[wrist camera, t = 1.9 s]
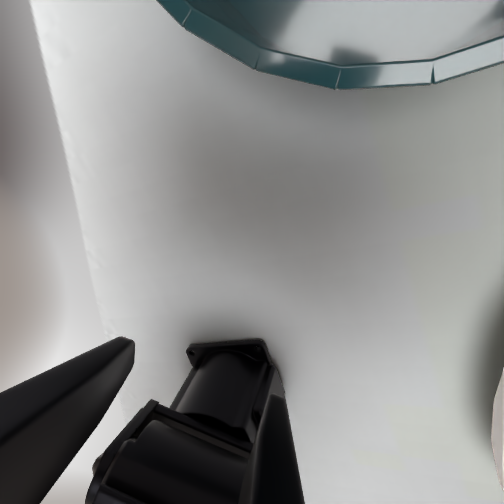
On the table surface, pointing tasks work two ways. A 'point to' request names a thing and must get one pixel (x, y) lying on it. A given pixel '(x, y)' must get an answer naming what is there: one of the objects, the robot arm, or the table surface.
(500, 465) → the plate
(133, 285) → the table surface
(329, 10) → the bowl
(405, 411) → the table surface
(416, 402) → the table surface
